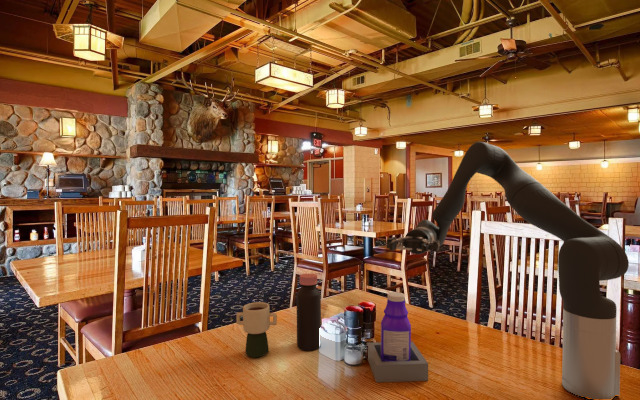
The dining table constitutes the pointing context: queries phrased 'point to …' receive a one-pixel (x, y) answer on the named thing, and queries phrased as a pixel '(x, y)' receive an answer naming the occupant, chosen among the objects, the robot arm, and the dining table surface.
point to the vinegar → (308, 313)
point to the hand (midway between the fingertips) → (406, 247)
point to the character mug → (256, 327)
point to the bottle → (395, 330)
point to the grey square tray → (397, 366)
